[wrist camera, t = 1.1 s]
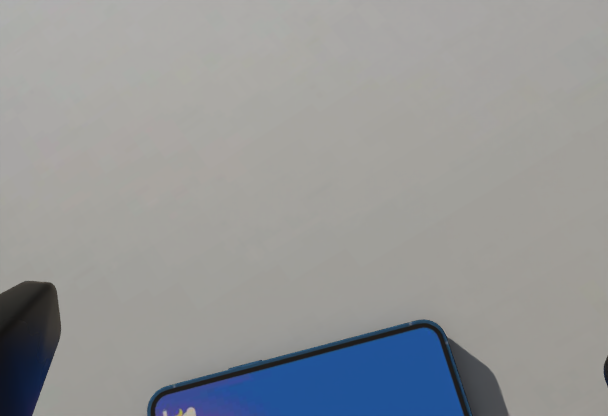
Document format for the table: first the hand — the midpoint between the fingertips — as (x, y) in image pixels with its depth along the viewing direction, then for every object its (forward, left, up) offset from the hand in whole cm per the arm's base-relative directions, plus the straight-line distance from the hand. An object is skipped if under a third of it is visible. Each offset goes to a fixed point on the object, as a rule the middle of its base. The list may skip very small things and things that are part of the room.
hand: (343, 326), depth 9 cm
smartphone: (-1, +3, -20) cm, 20 cm away
